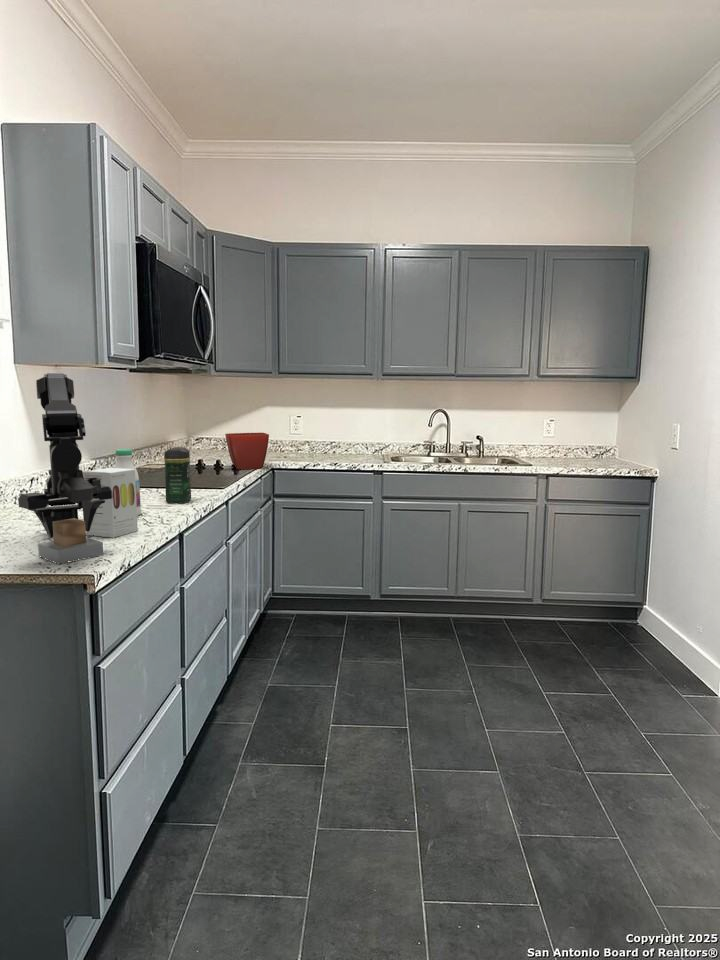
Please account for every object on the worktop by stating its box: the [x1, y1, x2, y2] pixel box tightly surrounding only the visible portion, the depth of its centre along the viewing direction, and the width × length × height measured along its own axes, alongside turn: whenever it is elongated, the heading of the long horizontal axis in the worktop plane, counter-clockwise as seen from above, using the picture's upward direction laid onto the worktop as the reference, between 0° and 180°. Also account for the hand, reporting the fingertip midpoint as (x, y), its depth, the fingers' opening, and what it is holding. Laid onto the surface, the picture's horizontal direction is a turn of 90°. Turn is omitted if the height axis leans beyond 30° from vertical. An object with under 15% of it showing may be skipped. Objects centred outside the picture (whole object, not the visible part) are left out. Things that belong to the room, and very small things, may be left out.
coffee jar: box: [163, 446, 192, 504], centre depth 211 cm, size 10×8×19 cm
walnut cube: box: [52, 518, 87, 547], centre depth 141 cm, size 5×5×5 cm
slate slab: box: [37, 536, 104, 564], centre depth 141 cm, size 10×10×3 cm
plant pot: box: [225, 432, 270, 470], centre depth 306 cm, size 19×19×17 cm
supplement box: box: [82, 467, 139, 539], centre depth 164 cm, size 10×9×17 cm
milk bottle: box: [114, 448, 142, 517], centre depth 187 cm, size 8×8×20 cm
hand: (69, 534), depth 141 cm, fingers open, 8 cm apart
